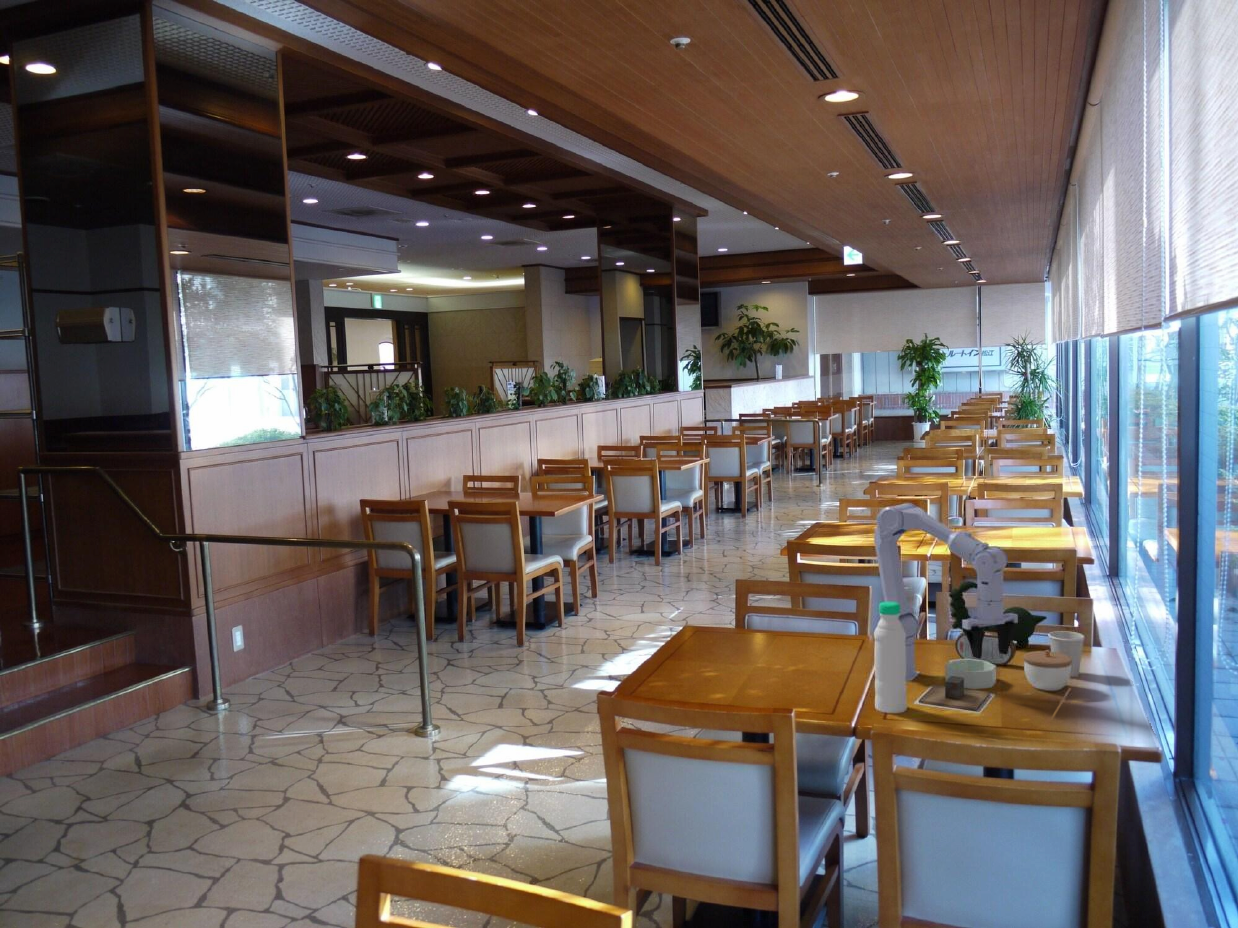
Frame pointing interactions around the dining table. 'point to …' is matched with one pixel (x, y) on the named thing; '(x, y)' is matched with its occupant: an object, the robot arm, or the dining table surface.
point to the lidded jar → (1047, 669)
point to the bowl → (972, 672)
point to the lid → (954, 695)
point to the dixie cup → (1068, 647)
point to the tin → (985, 649)
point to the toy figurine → (1024, 617)
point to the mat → (959, 709)
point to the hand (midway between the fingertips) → (990, 655)
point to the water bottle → (890, 660)
